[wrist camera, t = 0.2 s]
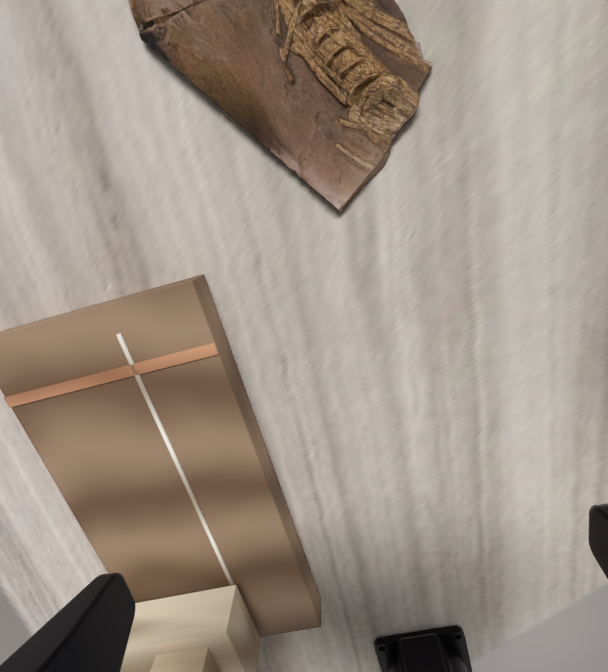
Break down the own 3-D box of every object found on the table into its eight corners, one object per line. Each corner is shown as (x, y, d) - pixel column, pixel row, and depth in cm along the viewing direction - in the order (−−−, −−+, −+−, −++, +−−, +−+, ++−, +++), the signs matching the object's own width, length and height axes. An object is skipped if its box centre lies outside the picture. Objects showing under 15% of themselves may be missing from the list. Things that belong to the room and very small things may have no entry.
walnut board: (320, 597, 27) (320, 628, 25) (165, 624, 29) (154, 655, 27) (203, 274, 20) (191, 281, 18) (3, 330, 21) (-29, 343, 20)
